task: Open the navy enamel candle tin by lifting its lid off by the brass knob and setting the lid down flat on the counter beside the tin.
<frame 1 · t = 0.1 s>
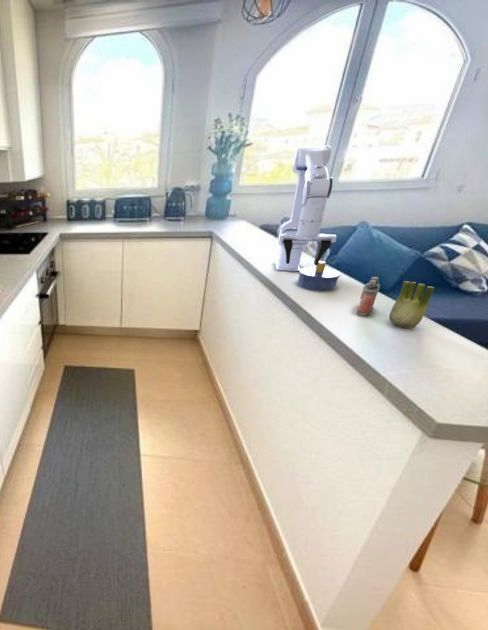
hand: (301, 263, 110), 10 cm above the table, tool pointing down, fingers open, 7 cm apart
fennel bulb: (401, 326, 90), on the table
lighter: (364, 311, 99), on the table
tin lid: (318, 273, 117), point 4 cm above the table, touching candle tin
candle tin: (315, 285, 119), on the table
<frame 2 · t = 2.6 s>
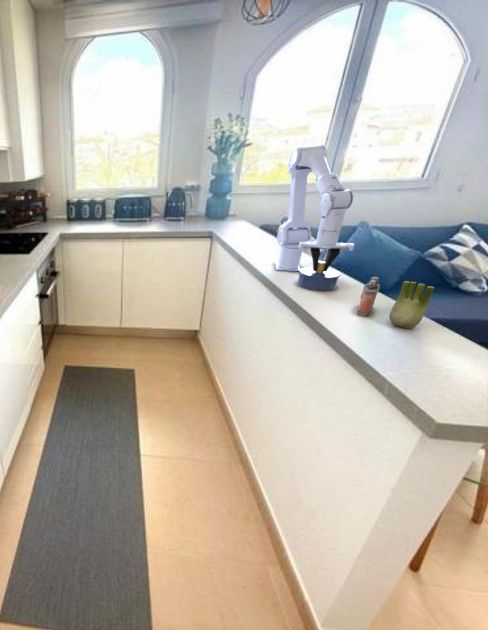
hand: (319, 270, 116), 6 cm above the table, tool pointing down, fingers closed on tin lid, 2 cm apart
tin lid: (318, 273, 117), point 4 cm above the table, touching candle tin, gripper
everything else where it was.
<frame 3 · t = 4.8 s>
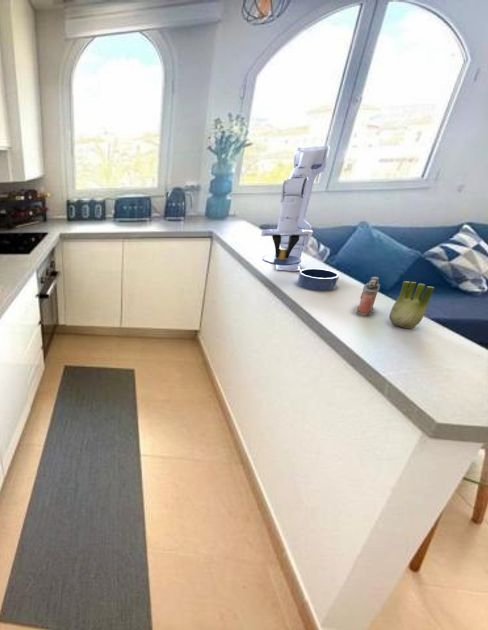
hand: (281, 257, 119), 10 cm above the table, tool pointing down, fingers closed on tin lid, 2 cm apart
tin lid: (281, 260, 119), point 9 cm above the table, touching gripper
everything else where it was.
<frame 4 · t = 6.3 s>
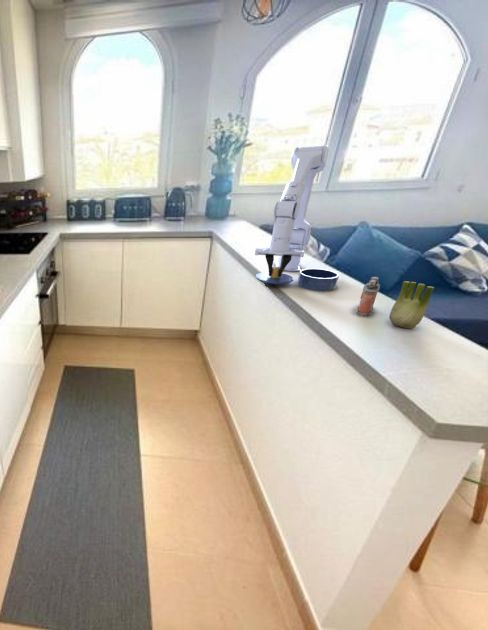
hand: (274, 275, 122), 3 cm above the table, tool pointing down, fingers closed on tin lid, 2 cm apart
tin lid: (274, 278, 122), point 2 cm above the table, touching gripper
everything else where it was.
when the fingers open (2 cm above the table, at t = 7.0 s): tin lid stays where it is, point 1 cm above the table.
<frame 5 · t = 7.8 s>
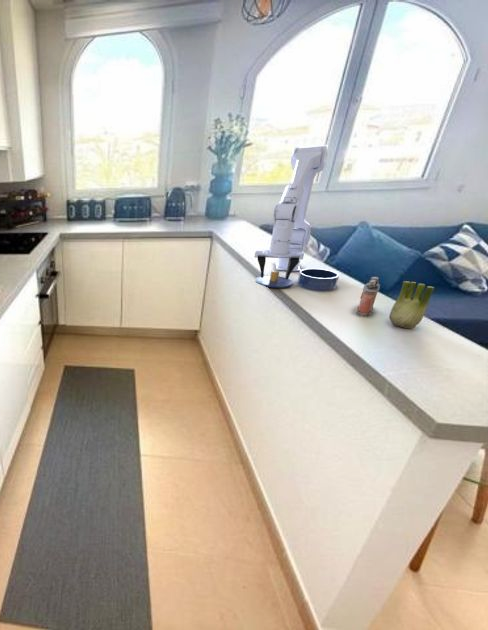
hand: (274, 277, 122), 2 cm above the table, tool pointing down, fingers open, 7 cm apart
tin lid: (273, 281, 123), point 1 cm above the table
everything else where it was.
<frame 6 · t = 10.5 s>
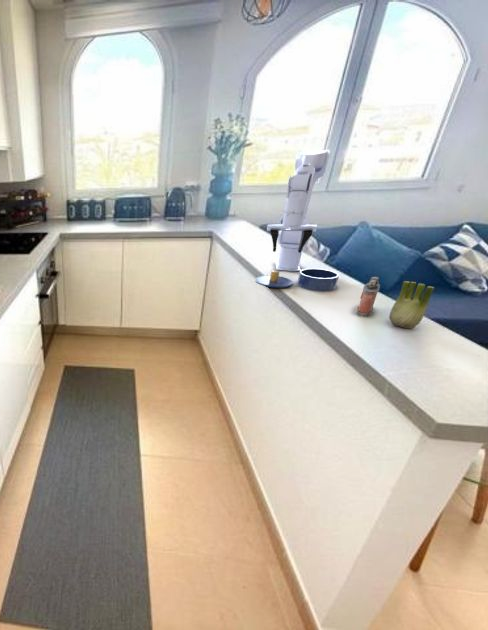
hand: (286, 251, 122), 10 cm above the table, tool pointing down, fingers open, 7 cm apart
nothing on the table moved.
at the end: tin lid inside the target area on the table beside the candle tin (0.1 cm from its centre), point 0.6 cm above the table; tin lid tilted 0°; the gripper is holding nothing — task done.
